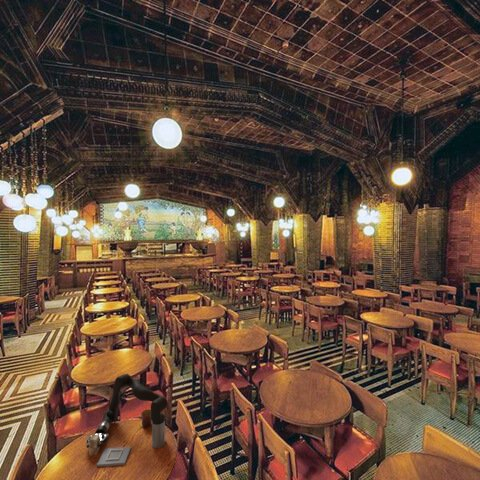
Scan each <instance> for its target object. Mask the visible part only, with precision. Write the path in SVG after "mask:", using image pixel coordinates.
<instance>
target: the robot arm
mask: <svg viewBox="0 0 480 480" xmlns="http://www.w3.org/2000/svg"><path fill="white" fill-rule="evenodd" d="M125 387H129V388H131V390H132V391H131V392H132V395H133V396H134V397H135V398H136V399H138V400H139V401H143V402H144V401H145V402H151V403H150V410H151V419H152V423H151V446H152V448H154V449H159V448H162V447H164V446H165V443H166V416H165V414H164V413H162V412H163V411H165V410H166V409H167V407H168V406H169V405H168V404H169V403H168V402H169V401H168V400H167V398H166V397H164V396H163V395H161V394H159V393H157V392H155V391H153V390H151V389H149V388H148V387H147V386H146V385H144V384H142V383H140V382H139V381H137V380H136V379H135V378H133V377H132V376H131V375H130V374H128V373H125V374H121V375H118V376H117V377H116V378H115V380H114V385H113V390H112V396H111V399H110V403H109V405H108V409H107V410H105V411H104V413H103V418H102V421H101V422H100V423H99V425H98V426H97V428H96V430H95V432H94V434H93V435H97V434H99V443H98V445H97V447H99V448H100V447H101V445H102V444H104V443H106V441H107V440H108V439H109V433H107V432H108V431H109V428H110V426H111V424H112V422H113V423H114V422H115V421H116V419H117V418H118V412H119V411H118V409H119V405H120V402H121V395H120V391H121V389H122V388H125ZM91 436H92V435H91V434H89V435H88V437H87V438H86V448H87V449H89V439H90V438H91Z"/></svg>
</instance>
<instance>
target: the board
mask: <svg viewBox="0 0 480 480" xmlns="http://www.w3.org/2000/svg"><path fill="white" fill-rule="evenodd" d="M131 450H132V446H120V447H108V448H107V447H106V448H104V449H103V452H102V453H101V455H100V457H99V460H98V461H97V463H96V467H99V468H100V467H111V466H125V465H126V463H127V461H128V460H127V459H128V458H129V454H130V452H131Z"/></svg>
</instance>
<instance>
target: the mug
mask: <svg viewBox="0 0 480 480" xmlns="http://www.w3.org/2000/svg"><path fill="white" fill-rule="evenodd" d="M140 416H141V425H142V427H143V428H145V429H147V428H149V427H150V426H152V419H151V408H149V409H144V410H143V411H141V412H140Z"/></svg>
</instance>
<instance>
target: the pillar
mask: <svg viewBox="0 0 480 480" xmlns="http://www.w3.org/2000/svg"><path fill="white" fill-rule="evenodd" d="M99 441H100V440H99V434H97V435H94V434H92V435H91V438H90V439H89V448H88V455H89V456H97V454H98V453H99V451H100V446H99V447H97V445H98V443H99Z"/></svg>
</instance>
